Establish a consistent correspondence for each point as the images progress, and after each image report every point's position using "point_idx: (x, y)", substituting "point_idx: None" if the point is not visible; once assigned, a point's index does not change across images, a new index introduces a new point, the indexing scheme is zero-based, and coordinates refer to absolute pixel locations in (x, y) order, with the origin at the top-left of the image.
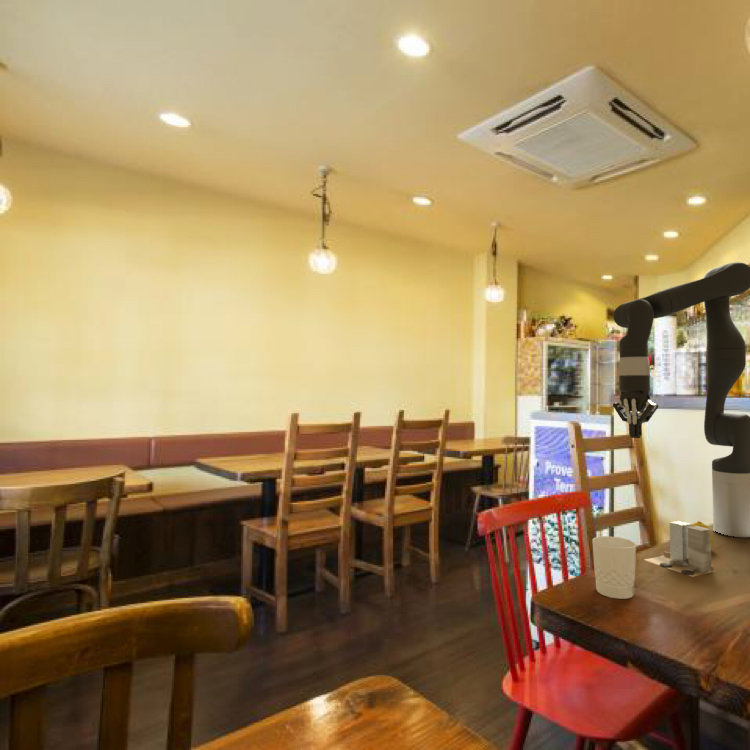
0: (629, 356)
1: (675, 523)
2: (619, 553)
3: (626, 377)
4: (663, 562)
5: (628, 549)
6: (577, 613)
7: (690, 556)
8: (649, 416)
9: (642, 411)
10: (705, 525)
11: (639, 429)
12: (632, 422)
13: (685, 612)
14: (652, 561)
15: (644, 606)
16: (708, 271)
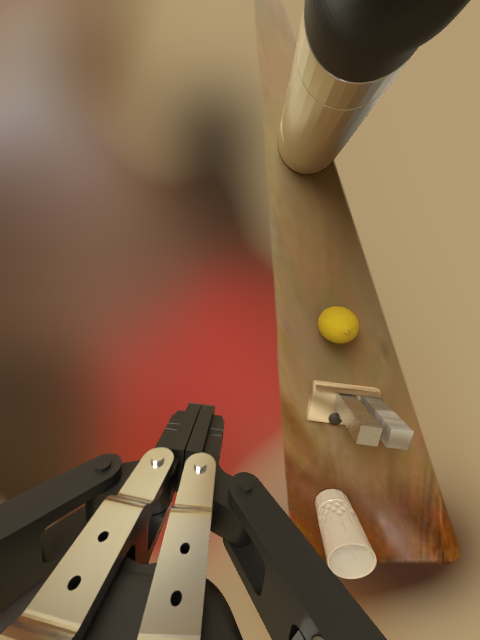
0: None
1: (365, 443)
2: (365, 566)
3: None
4: (327, 410)
5: (373, 565)
6: None
7: None
8: (281, 531)
9: (199, 558)
10: (355, 328)
11: (219, 454)
12: (172, 495)
13: (394, 493)
14: (317, 417)
15: (364, 507)
16: None
